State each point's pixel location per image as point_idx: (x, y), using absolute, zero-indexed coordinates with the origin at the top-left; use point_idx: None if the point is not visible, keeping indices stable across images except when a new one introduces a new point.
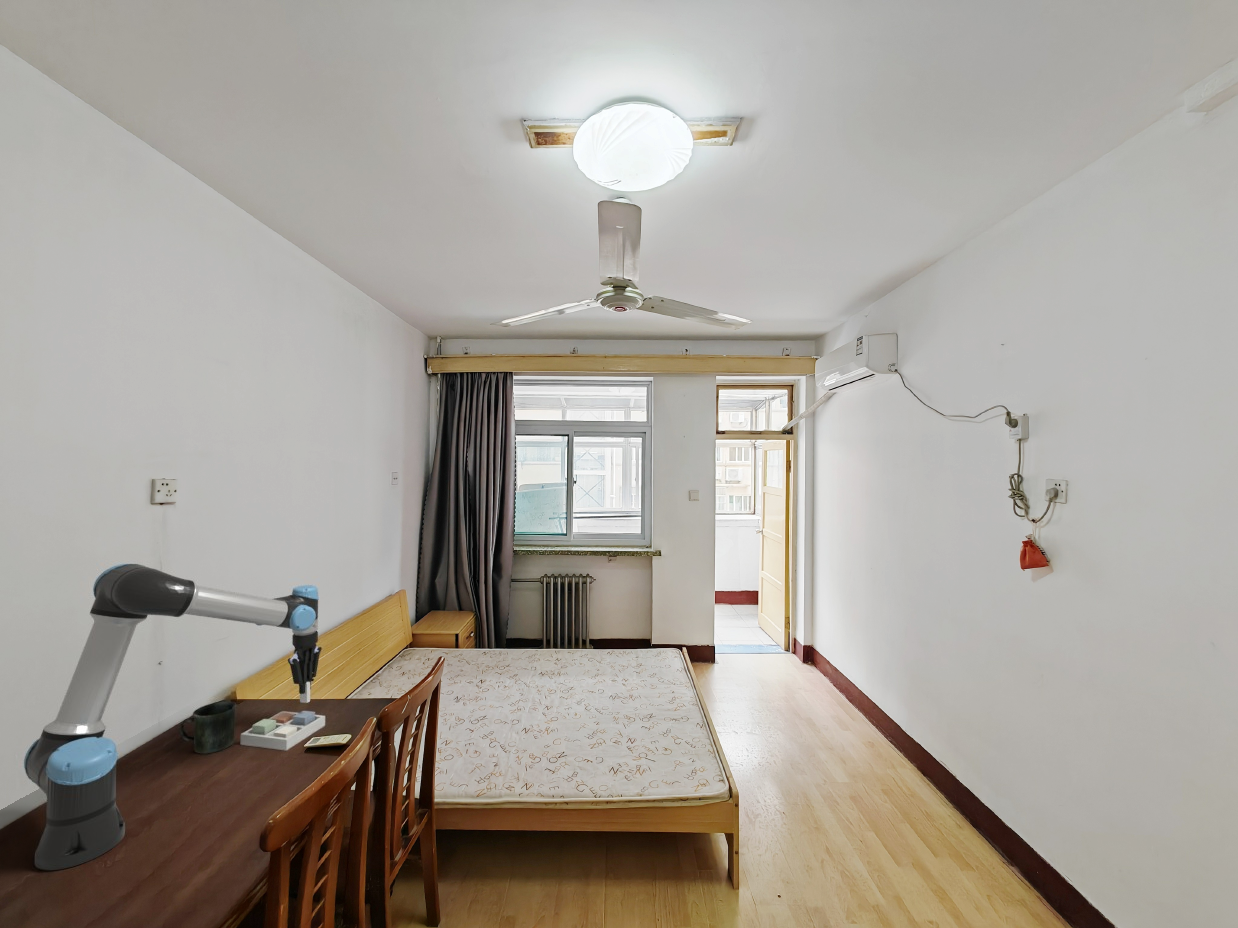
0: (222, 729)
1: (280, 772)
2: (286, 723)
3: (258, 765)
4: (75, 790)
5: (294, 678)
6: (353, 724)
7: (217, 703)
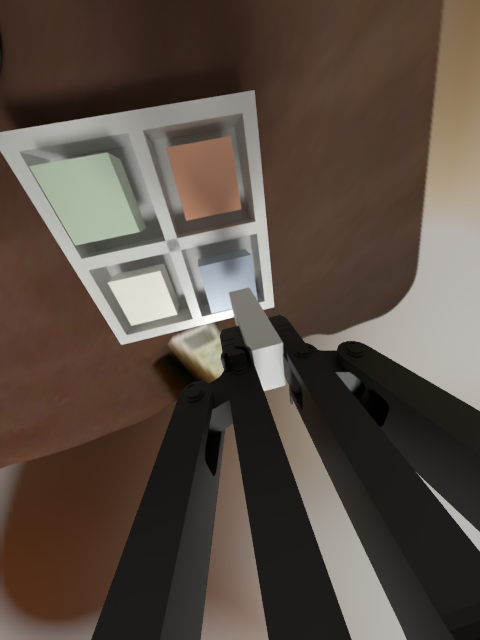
0: None
1: (76, 393)
2: (182, 243)
3: (43, 336)
4: None
5: (168, 455)
6: None
7: None
